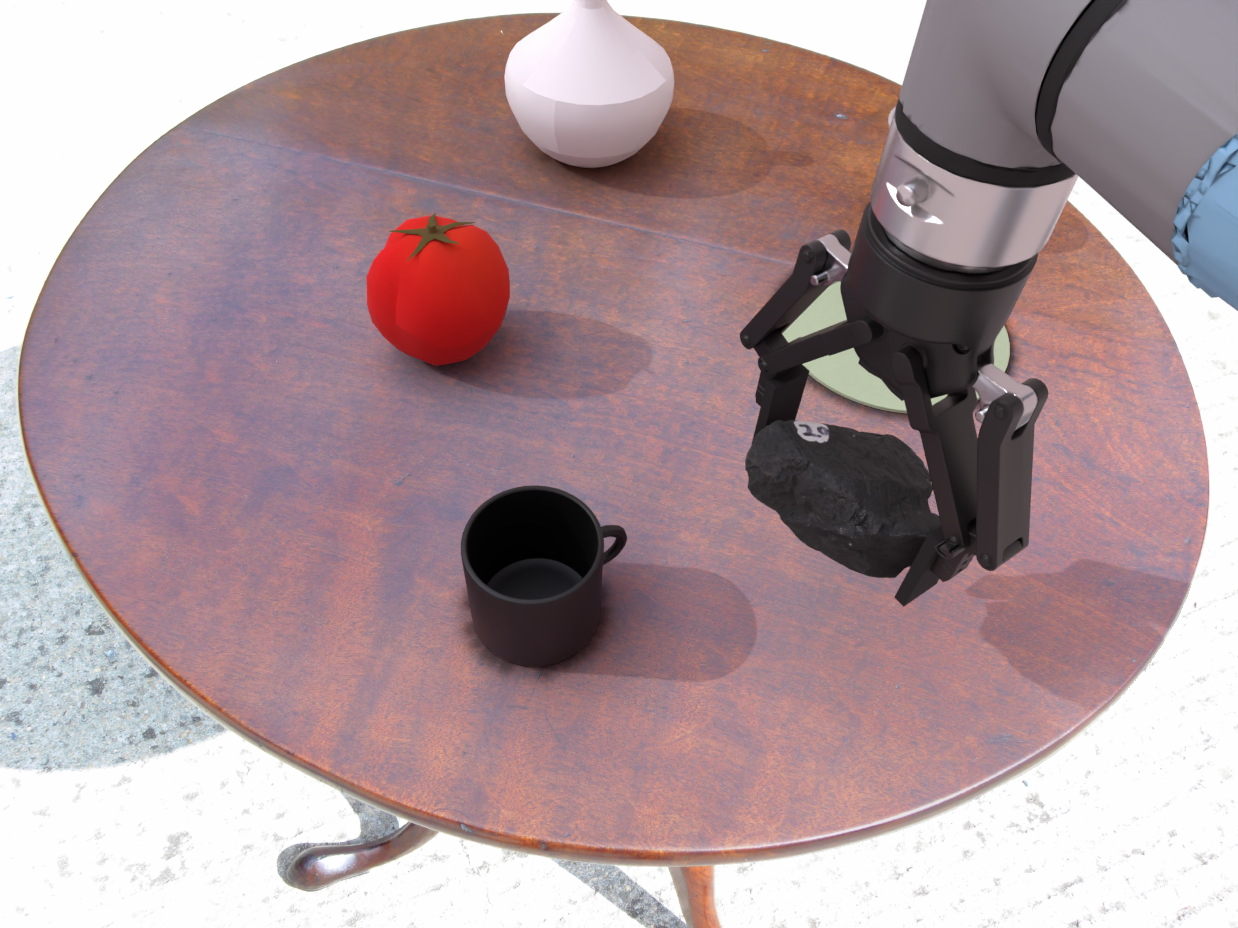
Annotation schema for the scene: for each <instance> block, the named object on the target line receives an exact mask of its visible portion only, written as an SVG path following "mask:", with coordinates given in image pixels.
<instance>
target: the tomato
mask: <svg viewBox="0 0 1238 928" xmlns="http://www.w3.org/2000/svg"><path fill="white" fill-rule="evenodd" d="M474 224H477V222H476V221H458V220H455V219H453V218H448V217H443V216H440V215H439V216H438V215H437V213H436V212H434V213H433V214H432V215H425V216H424V215H423V216H419V217H413V218H407V219H405V220H404V221H403V222H402V223H401V224H400V225H399V226H397V227H396V228H395V229H394V230H393V229H392V230H389V231H388V232H390V233H389V235H388V238H387V240H386V242H385V245H384V247H383V248H382V249H381V250H380V251H379V252H378V254H376V256H375V257H374V259H373V260H372V263H371V265H370V266H369V270H368V272H367V274H366V279H365V280H366V306H367V309H368V313H369V316H370V320H371V323H372V324H373V326H374V327H375V328H376V329H377V331H378V332H379V333H380V334H381V336H382V337H383V338H384V339H386V340H387V342H389V344H391V346H393V347H394V348H395V349H396V350H398V351H400V352H402V353H404V354H405V355H407V356H409V357H412V358H414V359H417V360H419V361H422V362H424V363H427V364H429V365H432V366H435V367H438V366H439V367H440V366H443V365H444V366H445V365H450V364H456V363H459V362H463V361H467V360H469V359H470V358H471V357H473V356H474V355H476V354H477V353H479V352H480V351H482V350H483V349H485V348H486V346H487V345H488V344H489V343H490V342H491V340H492V339H493V338H494V336H495V335H496V334H497V332H498V331H499V330H500V328H501V327H502V325H503V321H504V319H505V317H506V314H507V310H508V307H509V302H510V298H511V280H510V270H509V267H508V265H507V263H506V260H505V257H504V255H503V253H502V251H501V248H500V246H499V244H498V243H497V242H496V241H495V239H494V238H493V237H492V236H491V235H490V234H489V232H488V231H486V230H484V229H482V228H480V227H478V226H476V225H474Z"/></svg>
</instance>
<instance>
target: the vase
mask: <svg viewBox="0 0 1238 928" xmlns="http://www.w3.org/2000/svg"><path fill="white" fill-rule="evenodd" d="M610 4H611V3H609V2H608V0H574V1H573V2H572V3H571V4H570V5H569V6H568V8H566V9H565V10H564V11H562V12H560V13H559V14H558V15H556V16H555V17H554V18H552V19H551V20H549V21H548V22H546V23H545V24H543V25H542V26H540V27H538V28H537V29H534V30H533V31H532V32H530V33H529V34H527V35H526V36H525V37H523V38H522V39H520V40H519V41H517V42H516V43H515V45H514V46H513V48H512V49H511V51H510V52H509V55H508V58H507V61H506V64H505V70H504V76H503V77H504V89H505V96H506V97H505V98H506V99H507V102H508V106H509V108H510V110H511V112H512V113H513V116H514V117H515V120H516V122H517V123H518V125H519V128H520V129H521V131H522V132H523V134H525V136H527V138H528V139H529V140H530V141H531V142H532V143H533V145H535V146H536V147H537V148H538V149H539V150H540V151H541V152H542V153H544V154H546V155H547V156H549V157H550V158H552V159H553V160H556V161H558V162H561V163H563V164H566V165H568V166H572V167H577V168H584V169H585V168H586V169H597V168H605V167H608V166H609V167H610V166H612V165H615V164H618V163H620V162H623V161H625V160H626V159H629V158H630V157H632V156H634V155H636V154H637V153H638V151H640V150H641V149H642V148H643V147H644V146H645V145H646V144H647V143H649V142H650V140H652V138H653V137H655V136H656V134H657V133H658V130H659V129H660V127H661V125H662V123H663V121H664V120H665V118H666V116H667V115H668V112H669V109H670V108H671V105H672V103H673V98H674V90H675V75H674V73H675V72H674V68H673V65H672V62H671V58H670V56H669V55H668V53H667V52H666V50H665V48H664V47H663V46H661V44H659V43H658V42H657V41H655V40H654V39H653V38H652V37H650V36H649V35H648V34H646V33H645V32H643V31H642V30H641V29H639V28H638V27H636V26H635V25H634V24H632V23H631V22H629V20H627V19H626V18H624V16H622V15H621V14H619V12H617V11H616V10H614V8H613V7H612V6H611V5H610Z"/></svg>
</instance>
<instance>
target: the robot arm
mask: <svg viewBox="0 0 1238 928" xmlns="http://www.w3.org/2000/svg"><path fill="white" fill-rule="evenodd" d="M895 107H896V109H895V112H894V115H893V119H892V122H891V125H890V128H889V127H888V132H887V136H886V138H885V142H884V145H883V149H882V152H881V154H880V159H879V162H878V165H877V169H876V172H875V174H874V178H873V182H872V185H871V187H870V198H869V202H868V203H867V205H865V208H864V209H863V213H862V216H861V218H860V222H859V226H858V229H857V232H856V235H855V239H854V242H853V246H852V241H851V240H852V239H851V237H850V235H849V233H848V232H847V231H846V230H844V229H841V228H838V229H837V230H834V231H832V232H830V233H827V234H825V235H823V236H820V237H819V238H816V239H814V240H812V241H810V242H808V243H805V244H803V245H801V247H800V248H799V251H798V255H797V258H796V261H795V264H794V267H793V270H792V274H790V276H789V277H788V278H787V280H786V281H785V282H784V283H783V284H782V285H781V286H780V287H779V288H778V289H777V290H776V291H775V293H774V294H773V295H772V296H771V297H770V299H768V300H767V302H766V303H765V304H764V305H763V306H762V308H760V310H759V311H758V312H757V313H756V314H755V315H754V316H753V317H752V318H751V320H749V322H748V323H747V324H746V325H745V326H744V327H743V329H742V330H741V331H740V332H739V341H740V342H741V345H742V346H743V347H744V348H745V349H746V350H752V349H753V350H754V351H755V353H756V354H757V356H758V358H757V366H758V369H759V371H760V372H759V378H758V381H757V386H756V390H755V394H754V397H755V403H756V404H757V405H758V406H759V410H758V411H759V412H758V416H757V420H756V424H755V428H754V432H753V436H752V441H751V444H750V446H751V445H752V443H753V440H754V437H755V436H756V435H757V434H758V433H759V432H760V431H761V430H762V429H764V428H765V427H766V426H768V425H770V424H771V423H773V422H775V421H776V420H782V421H784V422H785V421H788V420H796V419H797V417H798V412H799V410H800V405H801V402H802V398H803V396H804V391H805V388H806V384H807V381H808V378H809V376H810V375H809V370H808V369H807V368H806V367H805V366H804V365H803V364H804V363H807V362H810V361H813V360H816V359H818V358H821V357H824V356H827V355H829V356H831V355H834V354H837V353H840V352H843V351H845V350H848V349H851V348H854V350H855V352H856V354H857V356H858V357H859V362H858V364H859V365H861V366H862V367H863V368H864V369H865V370H866V371H868V372H869V373H871V374H873V375H874V376H876V377H878V378H880V379H881V380H882V381H883V382H884V384H885V385H886V386H887V387H888V389H889V390H890V391H891V392H892V393H893V394H894V395H895V396H897V397H898V398H899V399H900V400H901V401H903V400H904V402H905V406H906V410H907V418H908V423H909V426H910V428H911V429H913V430H914V431H918V433H919V435H920V439H921V440H920V441H921V443H922V448H923V453H924V456H925V460H926V461H925V462H926V466H927V470H928V471H929V474H930V479H931V484H932V487H933V491H932V492H933V495H934V500H935V504H936V508H937V513H938V516H939V518H940V522H941V526H939V527H938V528H936V529H935V530H933V531H932V532H930V533H929V534H928V536H927V537H926V539H925V541H924V543H923V545H922V547H921V549H920V550H919V552H918V554H917V556H916V558H915V560H914V561H913V563H912V565H911V566H910V567H909V569H908V571H907V572H906V574H905V576H904V578H903V580H902V582H901V584H900V585H899V587H898V589H897V591H896V592H895V595H894V597H893V598H894V599H895V601H897V602H898V603H899V604H900V605H901V606H902V607H903V608H904V607H906V606H907V605H909V604H910V603H912V602H913V601H914V600H916V599H917V598H919V597H920V596H921V595H923V594H925V593H926V592H927V591H929V590H930V589H932V588H933V587H934V586H936V585H937V584H938V583H939V581H941V582H942V583H946V582H948V581H950V580H951V579H953V578H954V577H956V576H957V575H959V574H960V573H962V572H963V571H964V570H966V569H967V568H968V566H969V565H970V563H971V562H972V560H973V558H974V557H975V558H976V561H977V563H978V564H979V566H980V567H981V568H983V569H984V570H985V571H988V572H994V571H996V570H997V569H998V568H1000V567H1001V566H1003V565H1004V564H1006V562H1008V561H1009V560H1011V559H1013V558H1014V557H1015V556H1017V555H1018V554H1020V553H1021V552H1022V551H1024V550H1025V549H1026V548H1027V547H1029V544H1030V523H1031V504H1032V484H1033V463H1034V446H1035V445H1034V444H1035V443H1034V442H1035V425H1036V422H1037V420H1038V418H1039V416H1040V415H1041V412H1042V411H1043V408H1044V407H1045V404H1046V403H1047V400H1048V398H1049V394H1050V393H1049V389H1048V387H1047V385H1046V383H1045V382H1043V380H1041V379H1039V378H1036V377H1031V378H1028V379H1026V380H1024V381H1023V382H1021V383H1020V382H1019V381H1018V380H1017V379H1014V377H1011V375H1009V374H1007V373H1006V372H1005V373H1004V372H1003V371H1002V370H1000V369H999V368H997V367H996V366H994V343H995V339H996V337H997V336H998V334H999V333H1000V331H1001V329H1002V328H1003V326H1005V325H1006V323H1007V322H1008V320H1009V318H1010V316H1011V314H1012V313H1013V310H1014V308H1015V306H1016V304H1017V302H1018V301H1019V299H1020V296H1021V294H1022V292H1023V290H1024V288H1025V286H1026V284H1027V282H1028V280H1029V278H1030V276H1031V274H1032V272H1033V270H1034V268H1035V266H1036V264H1037V261H1038V257H1039V253H1040V252H1042V250H1043V249H1044V247H1045V246H1046V244H1047V243H1048V242H1049V240H1050V238H1051V235H1052V234H1053V232H1054V229H1055V227H1056V226H1057V223H1058V221H1059V218H1060V217H1061V215H1062V213H1063V210H1064V208H1065V206H1066V204H1067V202H1068V200H1069V197H1070V195H1071V193H1072V191H1073V189H1074V187H1075V185H1076V182H1077V181H1078V178H1080V179H1081V180H1082V181H1083V182H1084V183H1086V184H1087V185H1088V186H1089V187H1090V188H1091V189H1092V190H1094V191H1095V193H1096V194H1098V195H1099V196H1100V197H1101V198H1102V199H1103V200H1105V201H1106V203H1108V204H1109V205H1110V206H1111V207H1112V208H1113V209H1115V211H1116V212H1118V213H1119V215H1121V216H1122V217H1123V218H1125V220H1126V221H1127V222H1129V223H1130V224H1131V225H1132V226H1133V227H1135V228H1136V230H1138V231H1139V233H1141V234H1142V235H1143V236H1144V237H1145V238H1146V239H1147V240H1149V241H1150V242H1151V243H1152V244H1153V245H1154V246H1155V247H1156V248H1157V249H1159V250H1160V251H1161V252H1162V254H1164V255H1165V256H1166V257H1167V258H1168V259H1170V261H1172V262H1173V264H1175V265H1176V266H1177V268H1178V269H1179V271H1180V272H1181V274H1182V275H1184V276H1186V278H1187V279H1188V282H1189V283H1190V284H1192V285H1193V286H1194V287H1195V288H1196V289H1201V291H1203V292H1204V293H1205V294H1206V295H1207V296H1209V298H1211V299H1213V298H1219V299H1221V301H1223V302H1225V303H1226V304H1227V305H1229V306H1230V307H1231V308H1233V309H1234V310H1235V311H1237V312H1238V0H926V1H925V6H924V8H923V12H922V15H921V18H920V21H919V26H918V29H917V33H916V35H915V40H914V43H913V46H912V50H911V53H910V57H909V60H908V64H907V67H906V70H905V74H904V77H903V81H902V85H901V88H900V91H899V94H898V99H897V102H896V105H895ZM851 246H852V249H851ZM850 250H851V252H850ZM839 281H840V282H841V284H840V291H841V296H842V300H843V305H844V309H845V313H846V318H847V320H844V321H842V322H839V323H837V324H834V325H832V326H829V327H826V328H824V329H821V330H819V331H816V332H814V333H811V334H809V335H806V336H803V337H799V338H797V339H795V340H793V341H791V342H789V343H788V341H787V340H786V339H785V337H784V336H783V334H782V333H783V332H784V331H785V330H786V329H787V328H788V327H789V326H790V325H791V324H792V323H793V322H794V321H795V320H796V319H797V318H798V317H799V316H800V315H801V314H802V313H803V312H804V311H805V310H806V309H807V308H808V307H809V306H810V305H811V304H812V303H813V302H814V301H815V300H816V299H817V298H818V297H819V296H820V295H821V294H822V293H823V292H824V291H825V290H826V289H827V288H828V287H829V286H831V285H833V284H835V283H837V282H839ZM975 390H976V391H975ZM976 392H977V393H978V395H979V397H980V399H979V409H978V410H976V411H975V409H976V407H977V404H978V401H977V396H976ZM947 394H948V395H947ZM943 395H947V396H946V397H945V398H944V399H942V400H940V401H939V402H937V403H935V404H934V405H932V402H931V399H932V398H936V397H940V396H943ZM974 412H975V413H974ZM974 418H975V419H974ZM975 420H976V421H977V422H978V423H980V427H979V430H978V434H977V429H976V424H975Z"/></svg>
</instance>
